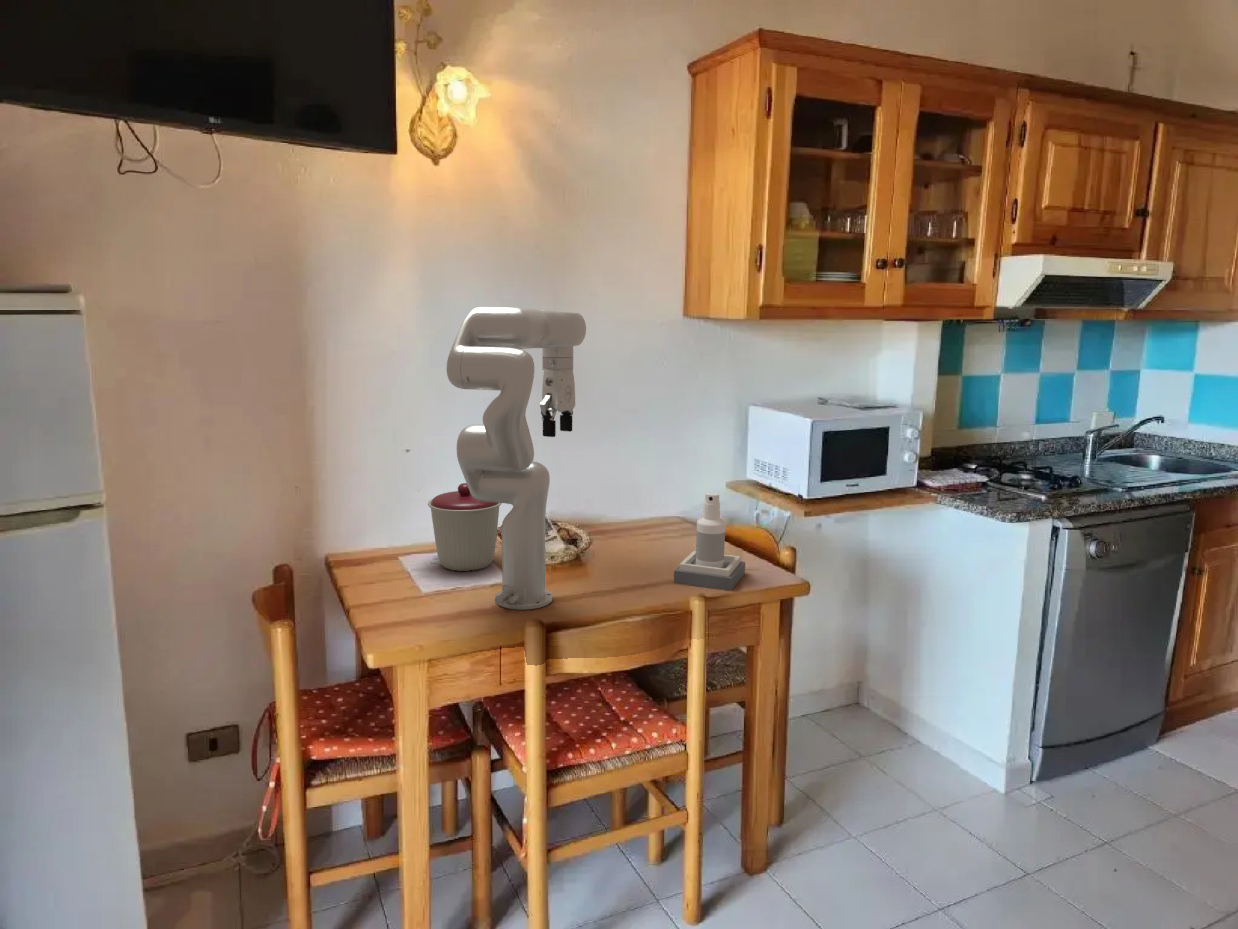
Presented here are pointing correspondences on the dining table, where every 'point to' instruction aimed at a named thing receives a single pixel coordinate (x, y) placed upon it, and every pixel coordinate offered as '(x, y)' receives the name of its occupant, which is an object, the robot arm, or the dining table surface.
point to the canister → (464, 529)
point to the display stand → (710, 573)
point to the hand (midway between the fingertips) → (557, 433)
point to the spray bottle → (710, 534)
